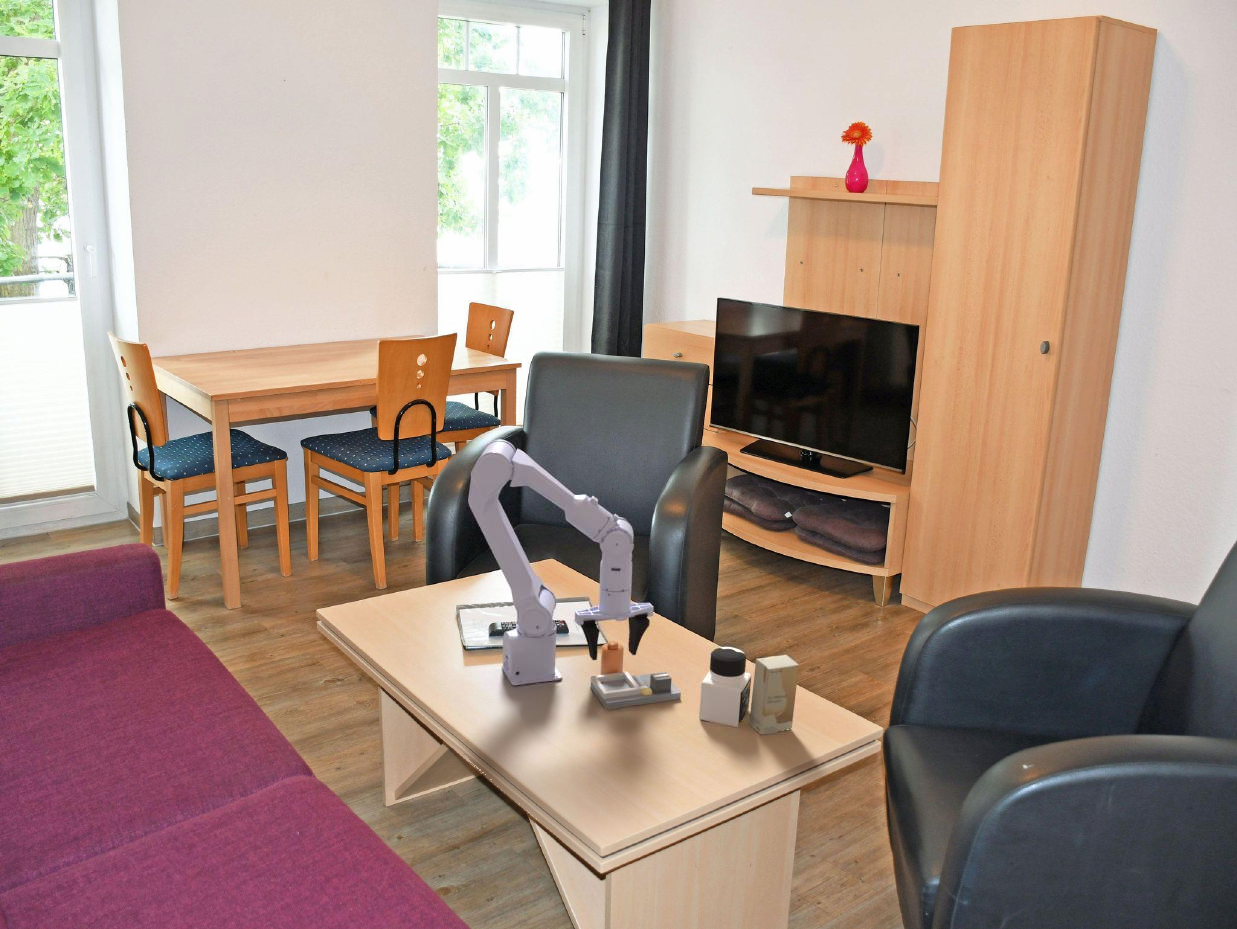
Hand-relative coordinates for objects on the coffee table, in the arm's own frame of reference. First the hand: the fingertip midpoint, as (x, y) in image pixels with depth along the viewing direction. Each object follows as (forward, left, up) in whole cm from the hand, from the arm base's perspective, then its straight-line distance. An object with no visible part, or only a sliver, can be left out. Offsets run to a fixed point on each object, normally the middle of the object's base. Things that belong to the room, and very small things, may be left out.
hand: (612, 655), depth 200 cm
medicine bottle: (+14, -19, -5) cm, 24 cm away
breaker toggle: (+6, -9, -3) cm, 11 cm away
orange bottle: (0, 0, -5) cm, 5 cm away
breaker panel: (+2, -7, -4) cm, 8 cm away
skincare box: (+20, -25, -5) cm, 32 cm away
